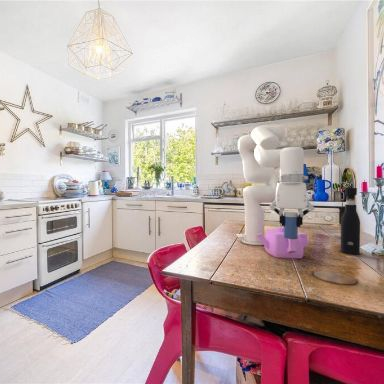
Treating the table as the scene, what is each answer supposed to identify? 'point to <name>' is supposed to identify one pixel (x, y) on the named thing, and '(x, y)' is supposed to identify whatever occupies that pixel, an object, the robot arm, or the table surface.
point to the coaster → (334, 277)
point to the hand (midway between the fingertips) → (290, 225)
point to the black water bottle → (350, 225)
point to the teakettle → (283, 244)
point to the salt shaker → (290, 225)
